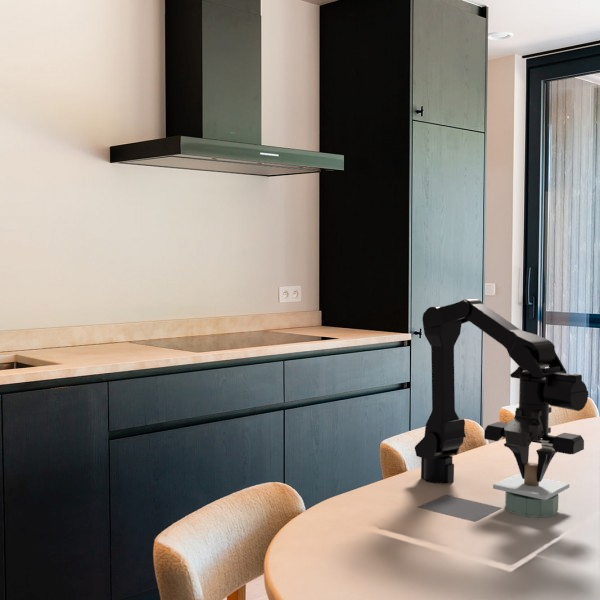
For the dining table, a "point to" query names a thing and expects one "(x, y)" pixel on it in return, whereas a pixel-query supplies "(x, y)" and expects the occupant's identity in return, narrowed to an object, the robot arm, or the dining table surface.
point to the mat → (460, 508)
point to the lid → (531, 484)
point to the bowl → (531, 505)
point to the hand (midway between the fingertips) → (531, 480)
